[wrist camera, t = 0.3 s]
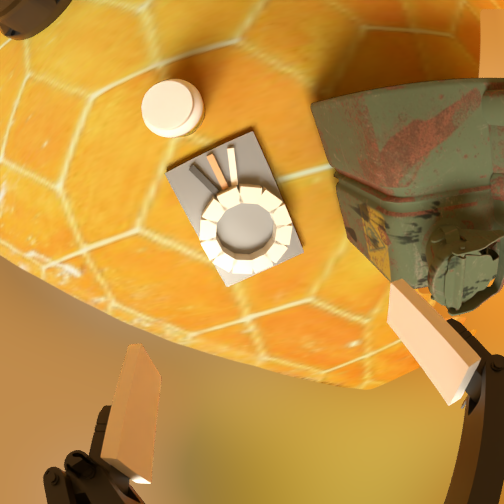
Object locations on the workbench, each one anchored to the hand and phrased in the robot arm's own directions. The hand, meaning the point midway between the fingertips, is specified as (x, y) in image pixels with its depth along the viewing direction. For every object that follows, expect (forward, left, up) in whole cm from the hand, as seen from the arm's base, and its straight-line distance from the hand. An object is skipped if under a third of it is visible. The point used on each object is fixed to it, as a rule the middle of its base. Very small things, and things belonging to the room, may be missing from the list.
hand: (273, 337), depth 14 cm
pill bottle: (-14, -1, -26) cm, 30 cm away
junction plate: (+1, 0, -26) cm, 26 cm away
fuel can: (+2, +30, -26) cm, 40 cm away
